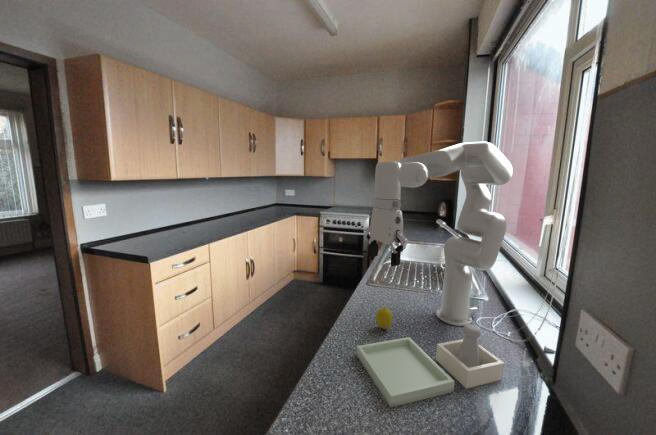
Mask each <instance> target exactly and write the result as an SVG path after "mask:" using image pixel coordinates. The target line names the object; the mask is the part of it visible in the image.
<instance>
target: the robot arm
mask: <svg viewBox="0 0 656 435" xmlns="http://www.w3.org/2000/svg"><path fill="white" fill-rule="evenodd" d="M458 171H460V176H461V179H462V182H463V184H464V187H465V192H466V193H465V194H466V196H465V200H464V202H463V205H462V209H461V211H460V213H459V216H458V219H457V224H456V227H457V230H458V231H459V232H460V233H462V234H465V235H469V236H472V237H476V238H481V241H480V240H476V239H473V238H468V237H464V236H458V235H455V236H454V235H453V236H451V237H449V238H447V240H446V241H445V242H444V246H443V254H444V255H443V256H444V272H443V273H444V276H443V282H442V285H443V286H442V294H441V295H442V296H441V304H440V306H441V307H440V308H437V309H436V312H435V316H436V317H437V319H439V320H441V321H442V322H444V323H445V324H449V325H451V326H458V327H464V326H465V325H467V324H472V322H473V318H472V316H471V314H473V313H477V312H479V309H478V307H477V306H473V307H472V306H471V307H470V298H471V292H472V291H471V290H472V282H473V273H472V269H471V268H474V269H477V270H480V271H488V270H491V269H492V268H493V267H494V265H495V262H496V261H497V258H498V255H499V252H500V250H501V246H502V244H503V242H504V238H505V235H506V233H507V220H506V218H505V217H504V216H503V215H502V214H501V213H497V212H493V211H489V210H490V206H491V204H492V195H491V193H490V191H489V188H488V187H487V185H490V186H491V185H492V186H493V185H494V186H501V185H506V184H507V183H509V181H510V180H511V179H512V176H513V172H514V171H513V166H512V163H511V162H510V161H509V159H508V158H507V157H506V156H505V155H504V154H503V153H502V151H501V150H500V149H499V148H498V147H497V146H495V144H493V143H492V142H488V141H473V142H472V141H471V142H461V143H457V144H454V145H451V146H447V147H445V148H442V149H438V150H434V151H429V152H424V153H422V154H417V155H411V156H408V157H404V158H401V159H397V160H394V161H379V162H377V163H376V166H375V171H374V172H375V175H374V176H375V177H374V191H373V192H374V197H373V198H374V199H373V208H372V210H371V212H372V213H371V217H370V226H368V227H366V228H365V234H366V239H367V240H368V241H367V244H368V245H369V246H368V257H369V258H373V257H377V256H378V255H379V243H382V244H385V245H388V246H390V248H391V251H392V252H391V254H390V267H396V266H400V265H401V255H402V253H403V251H404V250H405V249H406V247H407V245H408V243H409V239H408V238H407V237H406V236H405V235H404V217H403V211H402V210H400V209H401V207H402V202H401V194H402V187H404V188H419V187H421V186H423V185H425V184H426V182H427V181H428V179H429V178H440V177H445V176H447V175H450V174H453V173H455V172H458Z"/></svg>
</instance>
